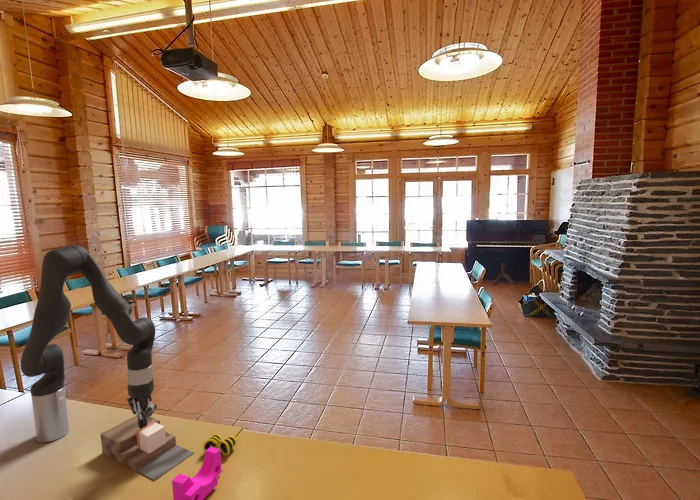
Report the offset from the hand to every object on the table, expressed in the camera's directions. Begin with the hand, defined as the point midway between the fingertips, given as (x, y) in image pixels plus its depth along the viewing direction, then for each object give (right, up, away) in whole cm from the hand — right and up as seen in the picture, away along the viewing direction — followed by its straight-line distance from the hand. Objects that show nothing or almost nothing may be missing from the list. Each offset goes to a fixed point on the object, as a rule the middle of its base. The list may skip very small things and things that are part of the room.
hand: (142, 427), depth 122 cm
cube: (+1, -2, 0) cm, 3 cm away
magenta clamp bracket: (+26, -11, -16) cm, 32 cm away
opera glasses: (+26, -9, +1) cm, 27 cm away
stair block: (+1, -9, 0) cm, 9 cm away
